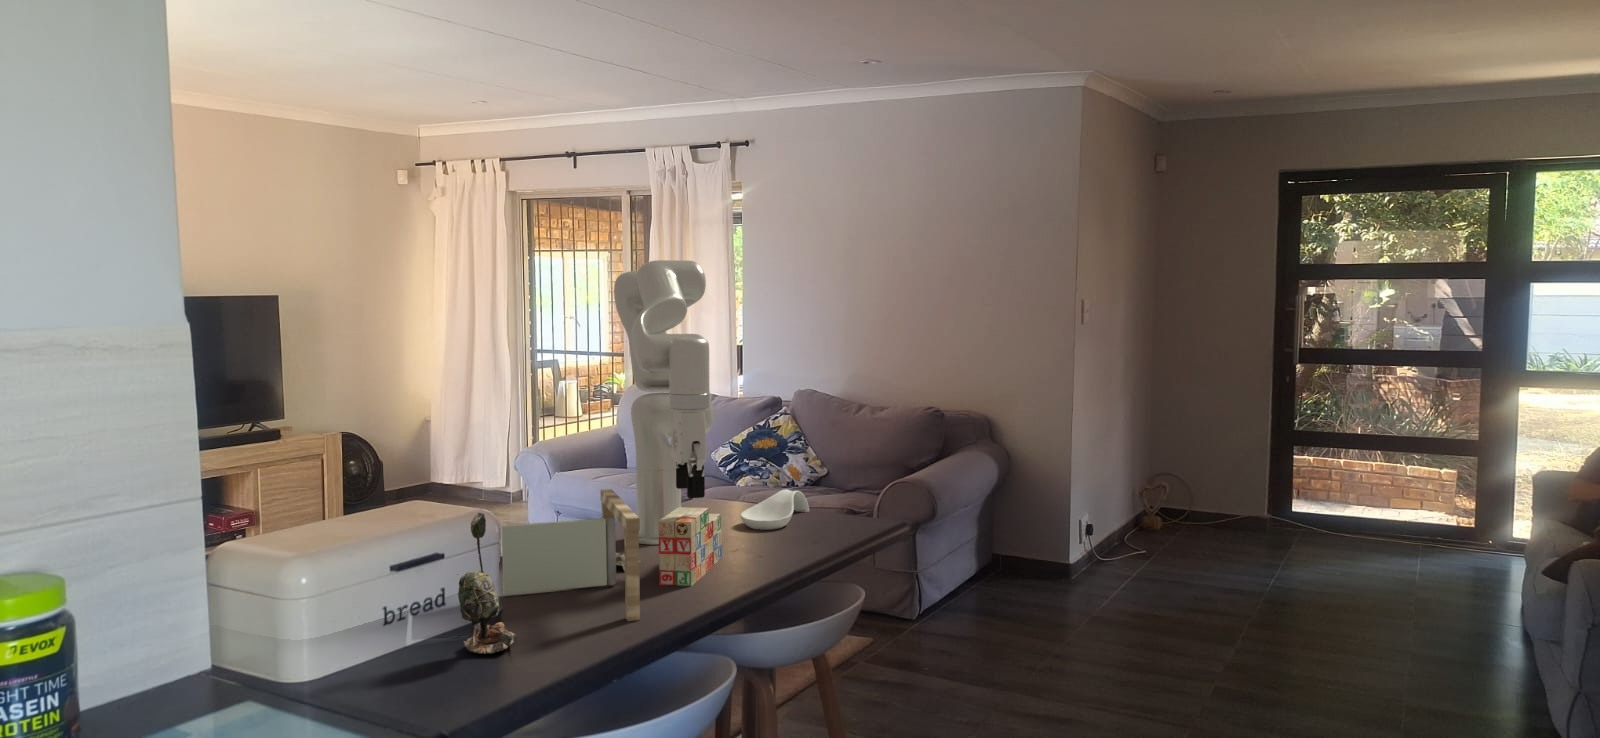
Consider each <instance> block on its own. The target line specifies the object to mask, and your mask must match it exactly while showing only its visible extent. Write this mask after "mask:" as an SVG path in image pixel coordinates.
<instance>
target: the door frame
mask: <svg viewBox="0 0 1600 738" xmlns="http://www.w3.org/2000/svg"><path fill="white" fill-rule="evenodd" d="M599 491H600V502H601V518H605V519H606V518H615V520H617V521H618V522H619V524H620V525H621V526H622V527H623V529H624V530H623V532H624V533H623V535H624V536H623V537H624V538H623V539H624V540H623V541H624V545H623V546H624V554H625V572H624V591H625V593H624V596H625V597H624V598H625V599H624V600H625V601H624V602H625V620H626V621H627V622H634V621H636V622H637V621H641V601H640V600H641V599H640V598H641V597H640V596H641V594H640V562H639V560H640V543H639V530H640V518H639V517H638V516H637V513H635V512H634V510H633V509H631V508H630V506H628V505H627V503H626V502H625V501H624V500H623V499H622V498H621V497H620V496H619V495H618V494H617V493H616V492H615V491H614V490H613V489H612V488H605V489H604V488H602V489H600V490H599ZM606 569H607V536H606Z"/></svg>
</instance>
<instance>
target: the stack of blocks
mask: <svg viewBox="0 0 1600 738" xmlns="http://www.w3.org/2000/svg"><path fill="white" fill-rule="evenodd" d="M722 533H723V531H722V514H721V513H709V507H683V506H681V507H678V508H677V509H675V510H674V511H672V512H671V513H670V514H668V515H667V516H665V517H663V518H662V519H660V520H659V545H658V558H659V560H658V561H659V562H658V563H659V568H658V569H659V570H658V576H659V578H658V579H659V580H658V582H659V583H658V584H659V586H668V585H676V586H677V587H693V585H694V584H696V583H697V582H698V581H699V580H700V579H702V578H703V576H705V575H706V574H707V572H709V570H710V569H711V568H712V567H713V566H715V565H716V564H717V563H718V562H719V561H720V560H721V559H722V558H723V556H722V555H723V550H722V549H723V548H722V547H723V544H722V542H723V536H722ZM721 557H722V558H721ZM720 558H721V559H720ZM719 559H720V560H719ZM718 560H719V561H718ZM715 563H716V564H715ZM714 564H715V565H714ZM710 567H711V568H710ZM708 569H709V570H708ZM706 571H707V572H706ZM705 573H706V574H705ZM676 586H675V587H676Z"/></svg>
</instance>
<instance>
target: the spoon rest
mask: <svg viewBox="0 0 1600 738" xmlns="http://www.w3.org/2000/svg"><path fill="white" fill-rule="evenodd" d="M794 510H795V511H794ZM799 510H805V511H799ZM794 512H803V513H807V512H810V507H809V503H808V500H807V497H806V496H805V495H804V493H803V492H802V491H800V490H790V489H781V490H780V491H778V492H776V493H774V494H773V495H771V496H770V497H768V498H766V499H764V500H762V501H760V502H759V503H757V504H754V505H753V506H751V507H748V508H746V509H744V510H743V511H742V512H741V513H740V515H739V516H740V519H741V520H742V522H743V523H744V525H746V526H747V527H748V528H750V529H754V530H759V529H760V531H762V530H763V531H766V530H767V531H769V530H778V529H781V528H783V527H785V526H786V525H787V524H789V523H790V520H791V518H792V516H793V513H794Z"/></svg>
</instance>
